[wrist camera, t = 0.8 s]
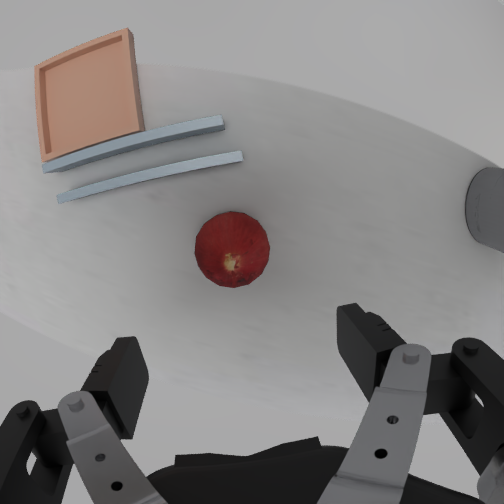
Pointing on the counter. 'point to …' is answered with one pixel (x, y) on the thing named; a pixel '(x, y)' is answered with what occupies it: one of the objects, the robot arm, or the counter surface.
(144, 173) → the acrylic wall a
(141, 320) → the counter surface
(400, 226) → the counter surface
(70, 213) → the counter surface
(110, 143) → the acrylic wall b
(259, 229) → the pomegranate
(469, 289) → the counter surface
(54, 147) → the terracotta dish
